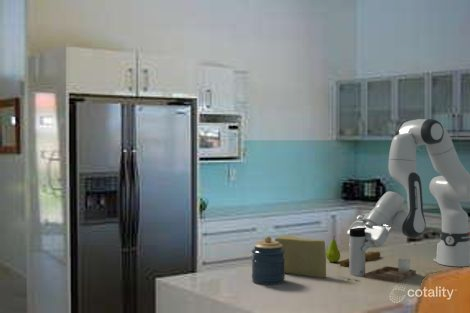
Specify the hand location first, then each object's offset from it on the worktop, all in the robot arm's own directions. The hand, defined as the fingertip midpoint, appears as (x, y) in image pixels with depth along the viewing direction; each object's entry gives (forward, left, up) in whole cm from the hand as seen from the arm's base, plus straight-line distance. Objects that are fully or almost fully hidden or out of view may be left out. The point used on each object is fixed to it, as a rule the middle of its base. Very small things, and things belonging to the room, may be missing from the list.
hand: (356, 248), depth 244 cm
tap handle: (-30, -13, -12) cm, 35 cm away
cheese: (+8, -20, -12) cm, 25 cm away
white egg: (-12, +15, -10) cm, 22 cm away
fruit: (-21, -23, -12) cm, 33 cm away
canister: (+27, -24, -12) cm, 38 cm away
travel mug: (-1, 0, -12) cm, 12 cm away
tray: (-7, +12, -11) cm, 18 cm away
